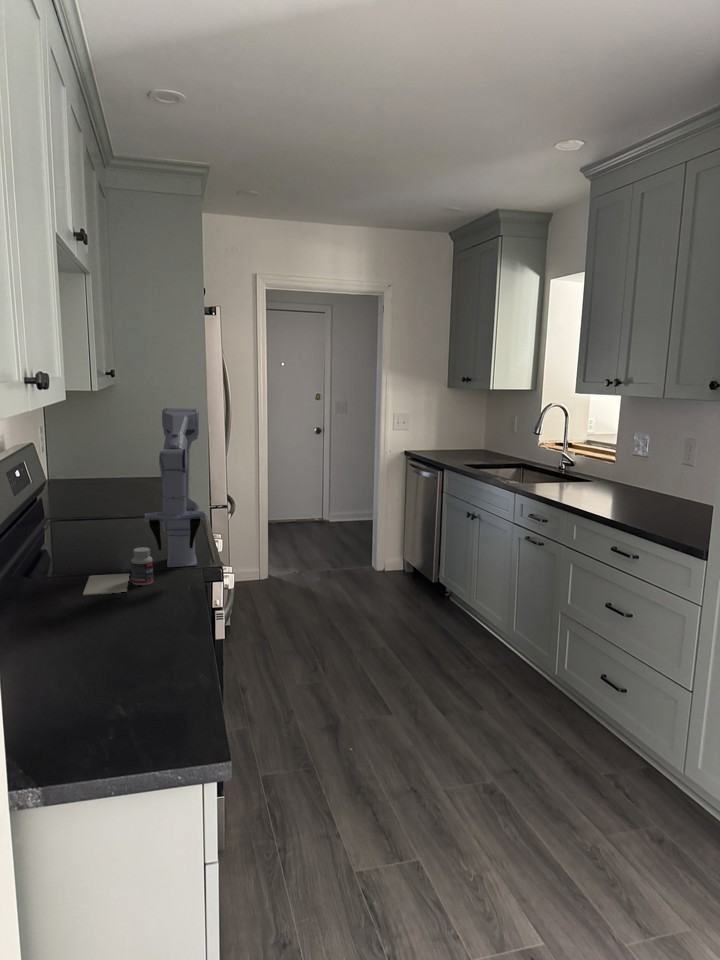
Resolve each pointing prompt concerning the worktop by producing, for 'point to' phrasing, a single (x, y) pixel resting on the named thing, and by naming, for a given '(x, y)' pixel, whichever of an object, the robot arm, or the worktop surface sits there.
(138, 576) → the pill bottle
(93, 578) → the mat
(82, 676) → the worktop surface
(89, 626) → the worktop surface
